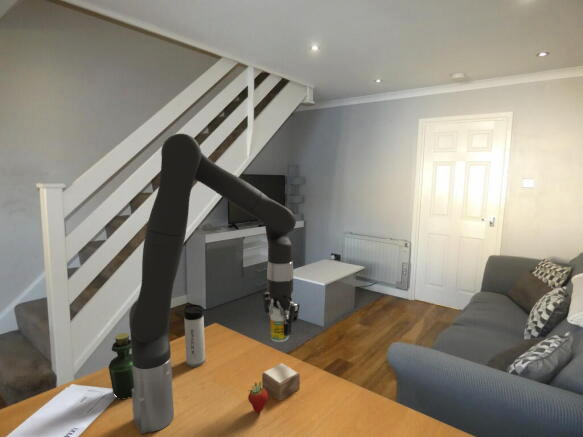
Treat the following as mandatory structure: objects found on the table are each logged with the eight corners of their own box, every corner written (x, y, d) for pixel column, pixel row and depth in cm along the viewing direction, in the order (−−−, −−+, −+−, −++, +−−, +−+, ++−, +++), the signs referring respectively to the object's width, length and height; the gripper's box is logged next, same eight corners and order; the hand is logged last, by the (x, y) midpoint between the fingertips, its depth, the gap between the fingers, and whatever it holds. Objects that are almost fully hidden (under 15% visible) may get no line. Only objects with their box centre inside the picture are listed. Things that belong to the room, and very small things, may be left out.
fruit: (255, 402, 98) (254, 376, 97) (271, 408, 96) (271, 381, 95) (245, 414, 93) (244, 387, 92) (262, 420, 91) (261, 392, 90)
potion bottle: (142, 396, 100) (138, 338, 98) (110, 405, 97) (106, 345, 94) (139, 381, 108) (136, 327, 105) (110, 389, 104) (106, 333, 101)
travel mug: (196, 355, 123) (194, 301, 120) (208, 361, 119) (207, 306, 116) (181, 362, 118) (179, 307, 115) (194, 369, 114) (191, 312, 111)
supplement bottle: (286, 332, 105) (286, 303, 103) (290, 341, 100) (290, 310, 98) (268, 334, 104) (269, 304, 102) (271, 343, 98) (272, 311, 97)
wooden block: (279, 401, 99) (279, 384, 98) (262, 388, 104) (262, 372, 104) (299, 389, 104) (299, 372, 103) (282, 377, 110) (282, 362, 109)
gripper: (254, 273, 102) (255, 327, 104) (287, 285, 91) (287, 344, 94) (274, 268, 107) (274, 319, 109) (307, 279, 96) (306, 335, 99)
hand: (280, 331), depth 101 cm, fingers closed on supplement bottle, 5 cm apart
